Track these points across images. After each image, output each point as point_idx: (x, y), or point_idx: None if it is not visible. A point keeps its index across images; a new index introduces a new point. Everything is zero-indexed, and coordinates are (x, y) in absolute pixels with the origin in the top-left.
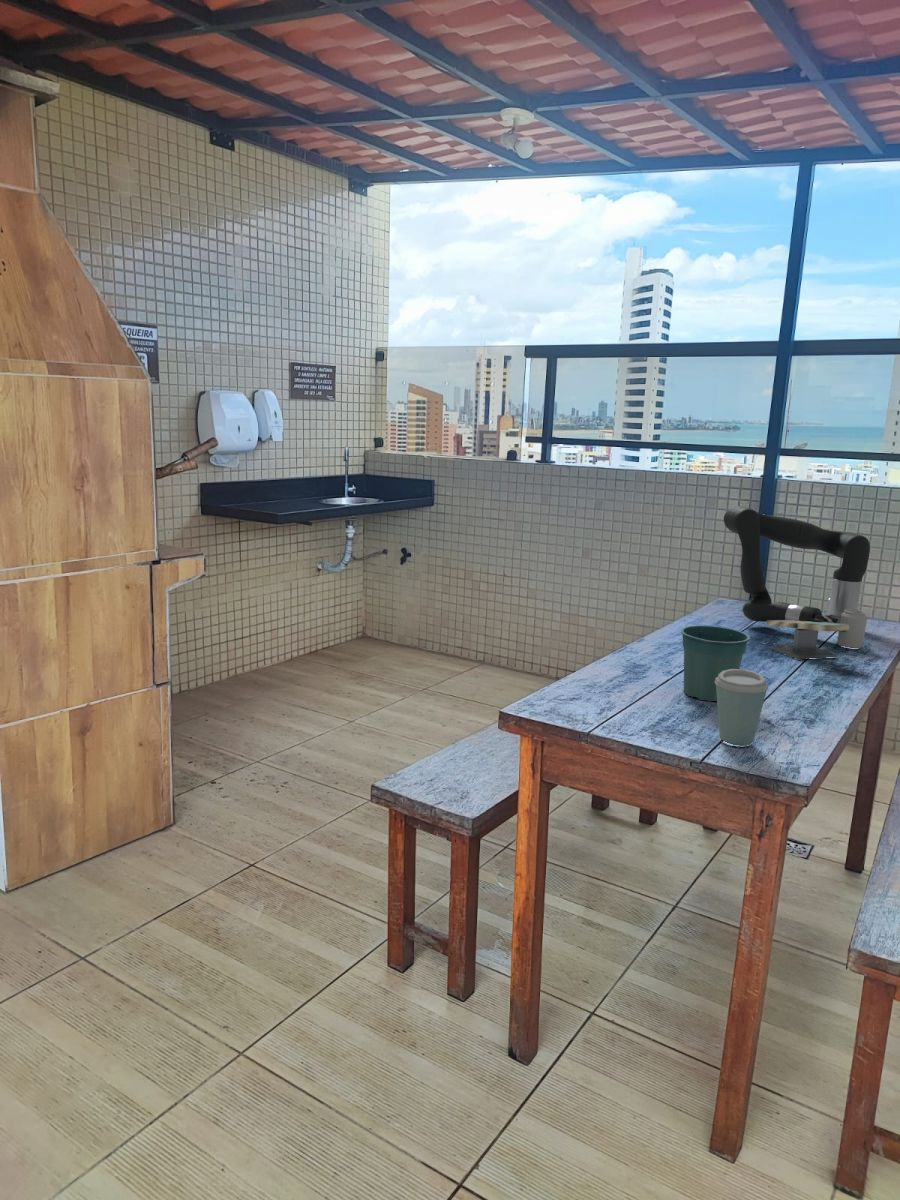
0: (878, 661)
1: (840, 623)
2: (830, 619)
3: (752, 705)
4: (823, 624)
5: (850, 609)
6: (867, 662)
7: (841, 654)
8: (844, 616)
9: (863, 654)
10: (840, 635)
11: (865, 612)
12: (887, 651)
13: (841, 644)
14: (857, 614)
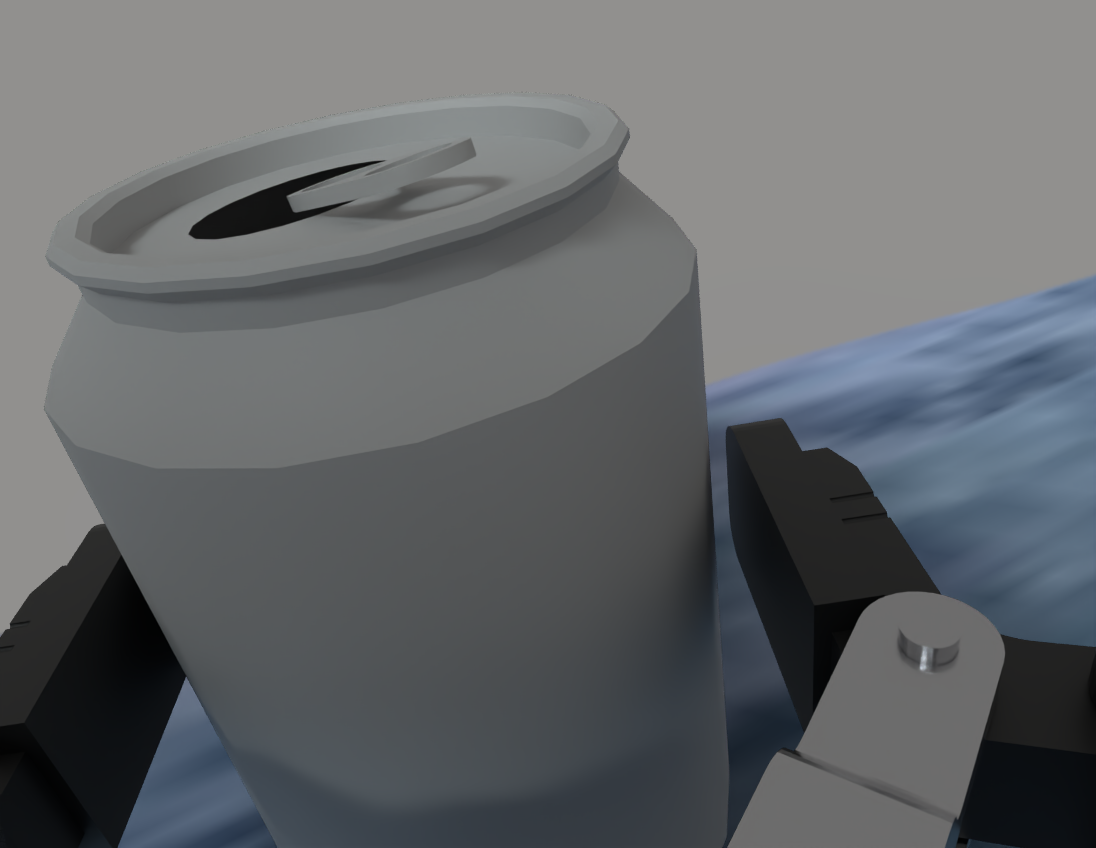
0: (822, 389)
1: (627, 600)
2: (805, 771)
3: None
4: None
5: (119, 255)
6: (985, 389)
7: (1079, 615)
8: (691, 298)
9: (723, 541)
10: (702, 745)
11: (270, 131)
12: None
13: (727, 802)
14: (541, 130)
